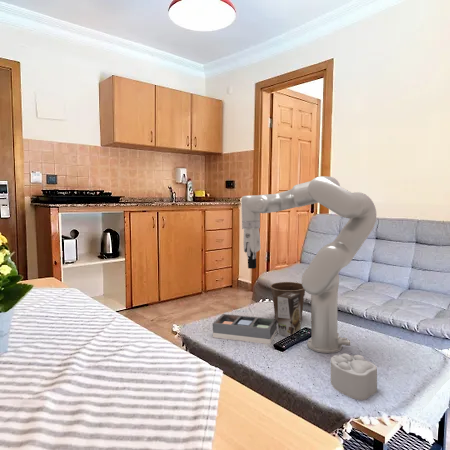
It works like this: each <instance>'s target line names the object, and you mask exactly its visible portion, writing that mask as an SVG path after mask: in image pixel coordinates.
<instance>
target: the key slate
mask: <svg viewBox="0 0 450 450" xmlns="http://www.w3.org/2000/svg"><path fill="white" fill-rule="evenodd" d="M251 323H252V321H248V320H240V321H239V323H238V324H237V325H241V326H250V324H251Z"/></svg>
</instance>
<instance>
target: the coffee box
mask: <svg viewBox="0 0 450 450" xmlns="http://www.w3.org/2000/svg"><path fill="white" fill-rule="evenodd" d="M301 323H302V321H301V317H300V293H293V292H286V293H284V294H282V295H280V296H278V322H277V334H278V335H281V336H285V337H288V336H289V335H292V334H294V333H295V332H297V331H299V330H300V331H301V327H302V326H301V325H302V324H301ZM300 331H299V332H300Z"/></svg>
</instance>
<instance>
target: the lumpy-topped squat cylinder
mask: <svg viewBox="0 0 450 450" xmlns="http://www.w3.org/2000/svg"><path fill="white" fill-rule="evenodd" d="M330 383H331V384H330V385H332V387H333V388H334V389H335V390H336V391H337V392H339V393H341V394H342V395H345V396H347V397H348V398H352V399H354V400H358V401H366V400H367V399H369V397H371V396H373V395H375V394H377V392H378V367H377V365H375V364H374V363H373V362H370V361H369V360H367V359H365V357H364V356H363V355H361V354H355V355H353V354H352V355H350V354H349V353H342V354H335V355H333V356H331V358H330Z"/></svg>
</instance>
